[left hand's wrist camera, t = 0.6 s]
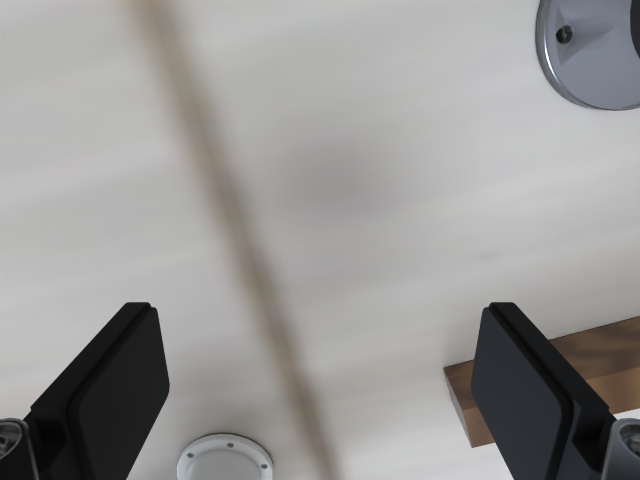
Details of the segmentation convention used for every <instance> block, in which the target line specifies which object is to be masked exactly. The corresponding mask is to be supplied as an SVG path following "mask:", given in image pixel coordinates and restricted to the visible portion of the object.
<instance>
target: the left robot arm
mask: <svg viewBox="0 0 640 480" xmlns="http://www.w3.org/2000/svg"><path fill="white" fill-rule="evenodd" d="M169 387H170V384H169V377H168V371H167V365H166V359H165V353H164V347H163V341H162V335H161V330H160V324H159V318H158V312H157V309H156V308H155V307H151V305H150V303H148V302H128V303H126V304H125V305H124V306H123V307H122V308H121V309H120V310H119V311H118V312H117V313H116V314H115V315H114V316H113V318H112V319H111V320H110V321H109V322H108V323H107V324H106V325H105V326H104V327H103V328H102V330H101V331H100V332H99V333H98V334H97V335H96V336H95V337H94V338H93V339H92V340H91V342H90V343H89V344H88V345H87V346H86V347H85V348H84V349H83V350H82V351H81V352H80V353H79V355H78V356H77V357H76V358H75V359H74V360H73V361H72V362H71V363H70V364H69V365H68V367H67V368H66V369H65V370H64V371H63V372H62V373H61V374H60V375H59V376H58V377H57V379H56V380H55V381H54V382H53V383H52V384H51V385H50V386H49V387H48V388H47V389H46V391H45V392H44V393H43V394H42V395H41V396H40V397H39V398H38V399H37V400H36V401H35V402H34V404H33V405H32V406H31V407H30V408H31V411H30V413H29V414H28V415H27V416H26V417H25V418H24V419H23V420H21V419H16V418H6V419H0V480H126V479H127V477H128V475H129V473H130V471H131V469H132V467H133V465H134V463H135V461H136V459H137V457H138V455H139V453H140V451H141V449H142V447H143V445H144V443H145V441H146V439H147V437H148V435H149V433H150V431H151V429H152V427H153V425H154V423H155V421H156V419H157V417H158V415H159V413H160V411H161V409H162V407H163V405H164V403H165V401H166V399H167V396H168V393H169ZM470 387H471V393H472V396H473V399H474V401H475V403H476V405H477V407H478V409H479V411H480V413H481V415H482V417H483V419H484V421H485V423H486V425H487V427H488V429H489V431H490V433H491V435H492V437H493V439H494V441H495V443H496V445H497V447H498V449H499V451H500V453H501V455H502V457H503V459H504V461H505V463H506V465H507V467H508V469H509V471H510V473H511V475H512V477H513V479H514V480H640V419H634V418H624V419H619V420H617V419H616V418H615V417H614V416H613V415H612V414H611V413H610V411H609V408H610V407H609V406H608V405H607V404H606V402H605V401H604V400H603V399H602V398H601V397H600V396H599V395H598V394H597V393H596V392H595V391H594V389H593V388H592V387H591V386H590V385H589V384H588V383H587V382H586V381H585V380H584V379H583V377H582V376H581V375H580V374H579V373H578V372H577V371H576V370H575V369H574V368H573V367H572V365H571V364H570V363H569V362H568V361H567V360H566V359H565V358H564V357H563V356H562V355H561V353H560V352H559V351H558V350H557V349H556V348H555V347H554V346H553V345H552V344H551V343H550V342H549V340H548V339H547V338H546V337H545V336H544V335H543V334H542V333H541V332H540V331H539V330H538V328H537V327H536V326H535V325H534V324H533V323H532V322H531V321H530V320H529V319H528V318H527V316H526V315H525V314H524V313H523V312H522V311H521V310H520V309H519V308H518V307H517V306H516V305H515V304H514V303H512V302H492V303H490V305H489V307H485V308H484V309H483V312H482V318H481V324H480V330H479V335H478V341H477V347H476V353H475V359H474V365H473V371H472V377H471V384H470ZM177 476H178V480H273V476H274V467H273V464H272V460H271V459H270V457H269V455H268V454H267V453H266V452H265V450H264V449H263V448H261V447H260V446H259V445H257V444H256V443H254V442H252V441H251V440H249V439H246V438H243V437H240V436H236V435H231V434H216V435H209V436H206V437H202V438H200V439H198V440H196V441H194V442H193V443H191V444H190V445H189V446H188V447H187V448H186V449H185V450H184V451H183V453H182V455H181V457H180V460H179V463H178V466H177Z"/></svg>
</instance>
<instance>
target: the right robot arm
mask: <svg viewBox="0 0 640 480" xmlns="http://www.w3.org/2000/svg"><path fill="white" fill-rule="evenodd" d="M536 43H537V51H538V56H539V60H540V63H541V66H542V69H543V71H544V73H545V75H546V77H547V79H548V80H549V82H550V83H551V84H552V86H553V87H554V88H555V89H556V90H557V91H558V92H559V93H560V94H561V95H562V96H563V97H565V98H566V99H568V100H569V101H571V102H573V103H575V104H577V105H580V106H583V107H586V108H591V109H599V110H629V109H635V108H639V107H640V0H542V1H541V4H540V8H539V12H538V18H537V27H536Z"/></svg>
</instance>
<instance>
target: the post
mask: <svg viewBox="0 0 640 480" xmlns="http://www.w3.org/2000/svg"><path fill="white" fill-rule="evenodd" d="M549 342H550V343H551V344H552V345H553V346H554V347H555V348H556V349H557V350H558V351H559V352H560V353H561V355H562V356H563V357H564V358H565V359H566V360H567V361H568V362H569V363H570V364H571V365H572V367H573V368H574V369H575V370H576V371H577V372H578V373H579V374H580V375H581V376H582V377H583V379H584V380H585V381H586V382H587V383H588V384H589V385H590V386H591V387H592V388H593V389H594V391H595V392H596V393H597V394H598V395H599V396H600V397H601V398H602V399H603V400H604V401H605V402H606V404H607V405H608V406H609V407H610V408H609V411H610V413H611V414H612V415H613V414H617V413H621V412H626V411H630V410H634V409H638V408H640V317H636V318H632V319H628V320H625V321H621V322H617V323H613V324H609V325H605V326H602V327H598V328H594V329H590V330H586V331H583V332H579V333H575V334H571V335H567V336H564V337H560V338H556V339H552V340H549ZM473 365H474V360H472V361H468V362H464V363H461V364H457V365H453V366H449V367H445V368H443V370H444V373H445V377H446V381H447V384H448V388H449V392H450V396H451V399H452V403H453V405H454V407H455V410H456V412H457V414H458V417H459V419H460V421H461V424H462V426H463V428H464V431H465V433H466V435H467V438H468V440H469V442H470V445H471V447H472V448H474V447H478V446H482V445H486V444H491V443H495V441H494V439H493V437H492V435H491V433H490V431H489V429H488V427H487V425H486V423H485V421H484V419H483V417H482V415H481V413H480V411H479V409H478V407H477V405H476V403H475V401H474V399H473V396H472V393H471V387H470V384H471V377H472V371H473Z"/></svg>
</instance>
